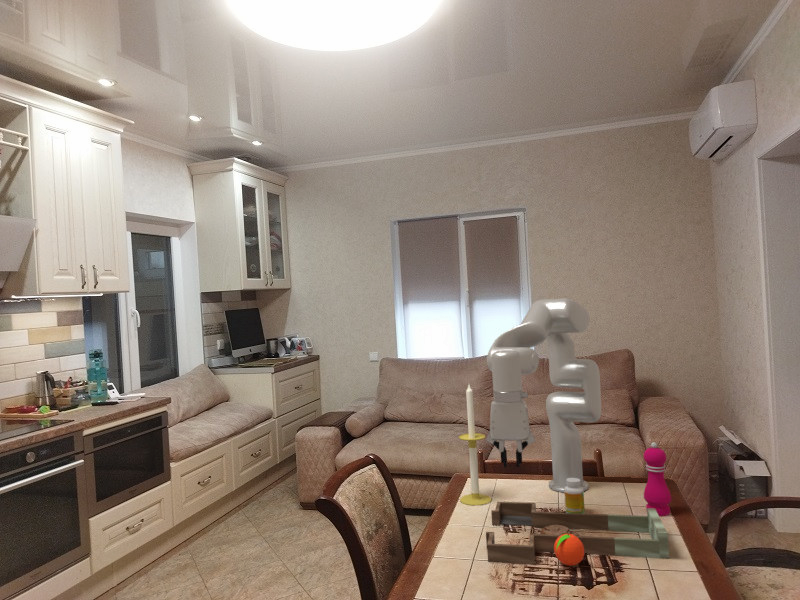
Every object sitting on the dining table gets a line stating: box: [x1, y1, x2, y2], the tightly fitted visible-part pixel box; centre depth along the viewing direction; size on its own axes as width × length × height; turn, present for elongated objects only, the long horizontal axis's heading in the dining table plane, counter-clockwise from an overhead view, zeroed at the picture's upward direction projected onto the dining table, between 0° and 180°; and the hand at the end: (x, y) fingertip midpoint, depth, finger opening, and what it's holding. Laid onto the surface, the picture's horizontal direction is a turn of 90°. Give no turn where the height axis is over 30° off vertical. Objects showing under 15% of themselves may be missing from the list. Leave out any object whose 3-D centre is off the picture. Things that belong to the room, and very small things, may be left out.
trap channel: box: [485, 501, 670, 565], centre depth 146 cm, size 30×43×6 cm
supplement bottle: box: [563, 478, 586, 514], centre depth 164 cm, size 5×5×10 cm
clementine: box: [553, 534, 585, 567], centre depth 133 cm, size 8×7×7 cm
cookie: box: [539, 525, 580, 536], centre depth 147 cm, size 10×11×3 cm
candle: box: [458, 384, 492, 507], centre depth 179 cm, size 10×10×38 cm
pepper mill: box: [643, 441, 672, 517], centre depth 161 cm, size 7×7×20 cm
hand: (511, 465), depth 150 cm, fingers open, 2 cm apart
